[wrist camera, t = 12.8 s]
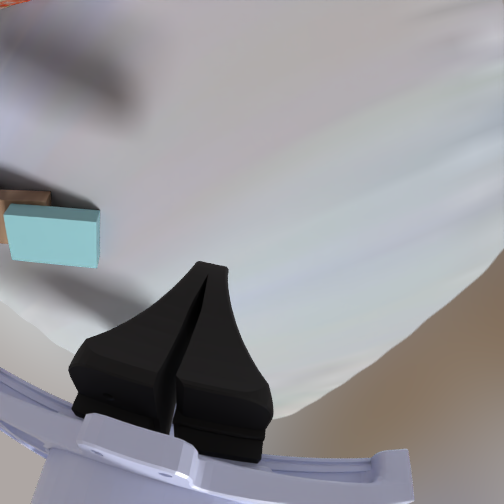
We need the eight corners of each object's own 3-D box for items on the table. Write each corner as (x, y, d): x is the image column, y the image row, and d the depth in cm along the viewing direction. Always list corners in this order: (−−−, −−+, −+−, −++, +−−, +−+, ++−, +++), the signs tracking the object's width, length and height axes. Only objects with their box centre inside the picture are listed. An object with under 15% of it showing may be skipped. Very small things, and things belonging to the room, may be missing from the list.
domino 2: (96, 222, 23) (3, 214, 19) (97, 268, 25) (12, 259, 22) (100, 210, 24) (10, 203, 21) (99, 255, 27) (17, 247, 23)
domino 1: (45, 201, 22) (-33, 198, 18) (49, 246, 25) (-24, 241, 21) (50, 191, 23) (-25, 189, 20) (53, 235, 26) (-18, 230, 22)
